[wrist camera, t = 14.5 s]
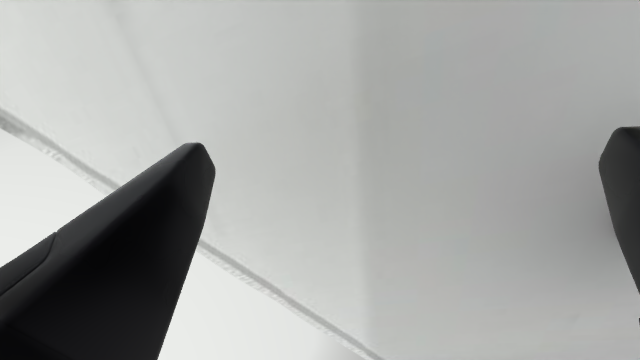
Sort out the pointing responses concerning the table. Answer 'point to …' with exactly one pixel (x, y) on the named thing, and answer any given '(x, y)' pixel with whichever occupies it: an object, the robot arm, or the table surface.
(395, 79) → the table surface
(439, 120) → the table surface
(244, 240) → the table surface
